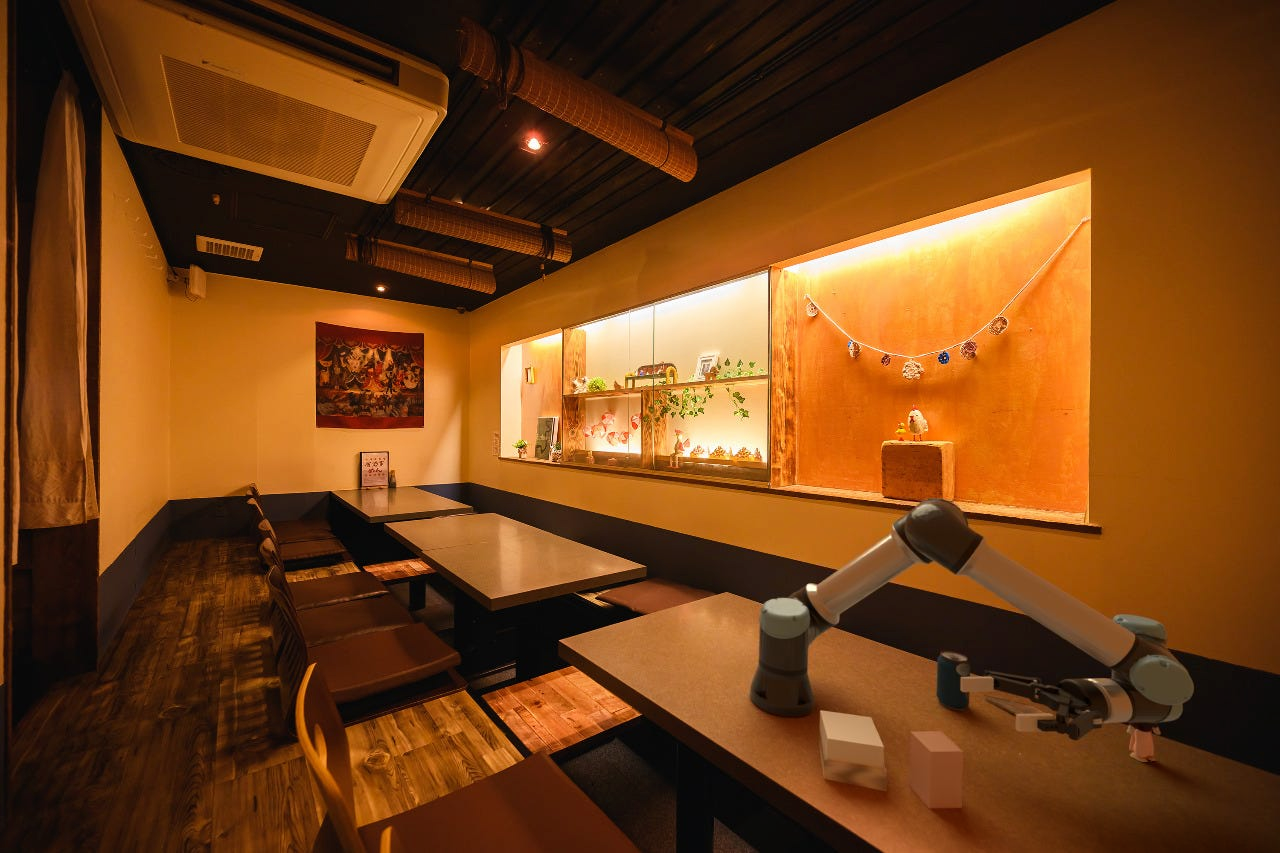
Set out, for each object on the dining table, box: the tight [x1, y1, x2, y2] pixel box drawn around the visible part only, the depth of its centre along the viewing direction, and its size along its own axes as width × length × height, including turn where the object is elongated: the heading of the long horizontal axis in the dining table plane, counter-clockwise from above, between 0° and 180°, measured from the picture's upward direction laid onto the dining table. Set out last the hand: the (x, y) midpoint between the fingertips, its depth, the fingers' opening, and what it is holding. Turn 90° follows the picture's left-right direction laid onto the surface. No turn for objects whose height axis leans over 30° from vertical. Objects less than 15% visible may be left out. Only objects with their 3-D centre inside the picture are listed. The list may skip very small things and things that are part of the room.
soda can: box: [936, 650, 971, 711], centre depth 126 cm, size 7×7×12 cm
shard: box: [983, 694, 1045, 716], centre depth 125 cm, size 11×8×2 cm
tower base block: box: [818, 732, 888, 792], centre depth 100 cm, size 11×11×4 cm
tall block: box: [908, 730, 964, 809], centre depth 93 cm, size 6×6×10 cm
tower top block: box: [819, 709, 885, 768], centre depth 100 cm, size 10×10×4 cm
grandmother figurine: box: [1126, 722, 1161, 763], centre depth 106 cm, size 8×4×13 cm, turn 110°
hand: (987, 702), depth 95 cm, fingers open, 13 cm apart
